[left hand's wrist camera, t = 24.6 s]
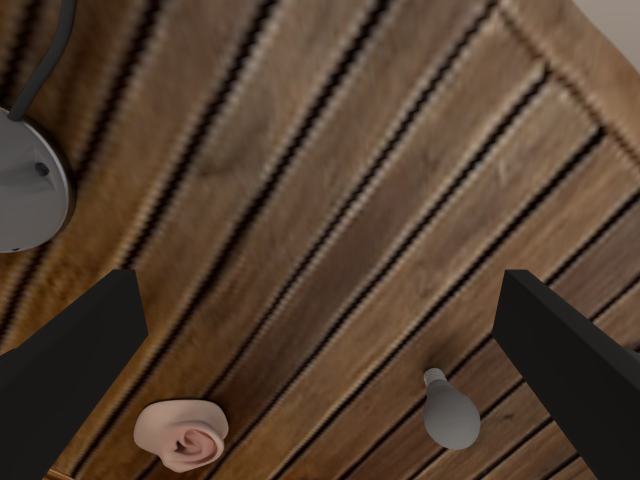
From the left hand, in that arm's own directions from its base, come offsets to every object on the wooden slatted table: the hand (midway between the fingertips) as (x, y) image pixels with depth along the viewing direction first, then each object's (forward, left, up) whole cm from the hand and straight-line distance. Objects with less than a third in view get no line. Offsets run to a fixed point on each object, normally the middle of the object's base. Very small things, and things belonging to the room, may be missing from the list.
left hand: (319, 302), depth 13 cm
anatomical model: (+41, +4, -26) cm, 48 cm away
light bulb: (+14, +27, -26) cm, 39 cm away
